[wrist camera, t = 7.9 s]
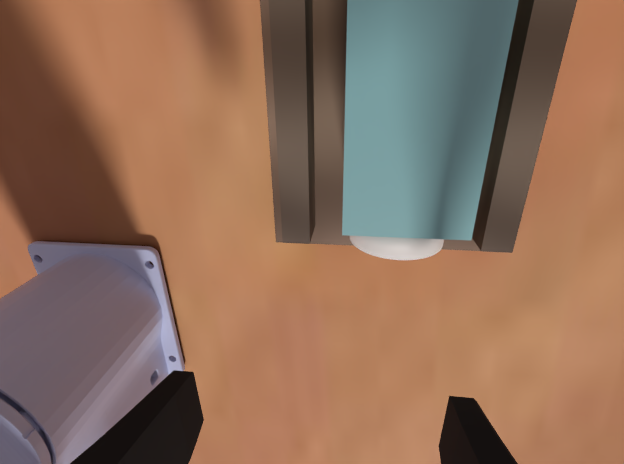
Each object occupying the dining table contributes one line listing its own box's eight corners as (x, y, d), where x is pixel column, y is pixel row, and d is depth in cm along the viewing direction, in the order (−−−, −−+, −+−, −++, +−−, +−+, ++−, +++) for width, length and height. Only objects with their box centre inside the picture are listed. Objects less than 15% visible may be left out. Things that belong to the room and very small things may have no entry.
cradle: (500, 242, 17) (527, 275, 14) (280, 233, 18) (266, 261, 16) (616, -243, 10) (707, -355, 8) (254, -201, 12) (221, -283, 9)
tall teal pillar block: (435, 215, 16) (465, 273, 11) (346, 213, 16) (341, 267, 12) (487, -153, 11) (580, -318, 6) (356, -141, 11) (353, -285, 7)
